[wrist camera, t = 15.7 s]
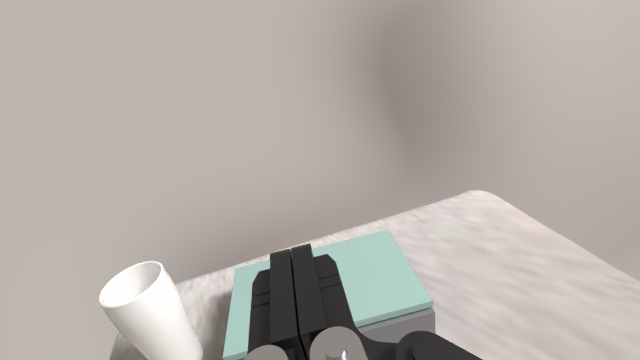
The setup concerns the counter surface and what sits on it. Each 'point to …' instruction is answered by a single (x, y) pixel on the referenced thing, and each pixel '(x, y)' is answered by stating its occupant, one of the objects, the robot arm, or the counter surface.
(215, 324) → the counter surface
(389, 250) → the panel
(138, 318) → the white tapered cylinder
